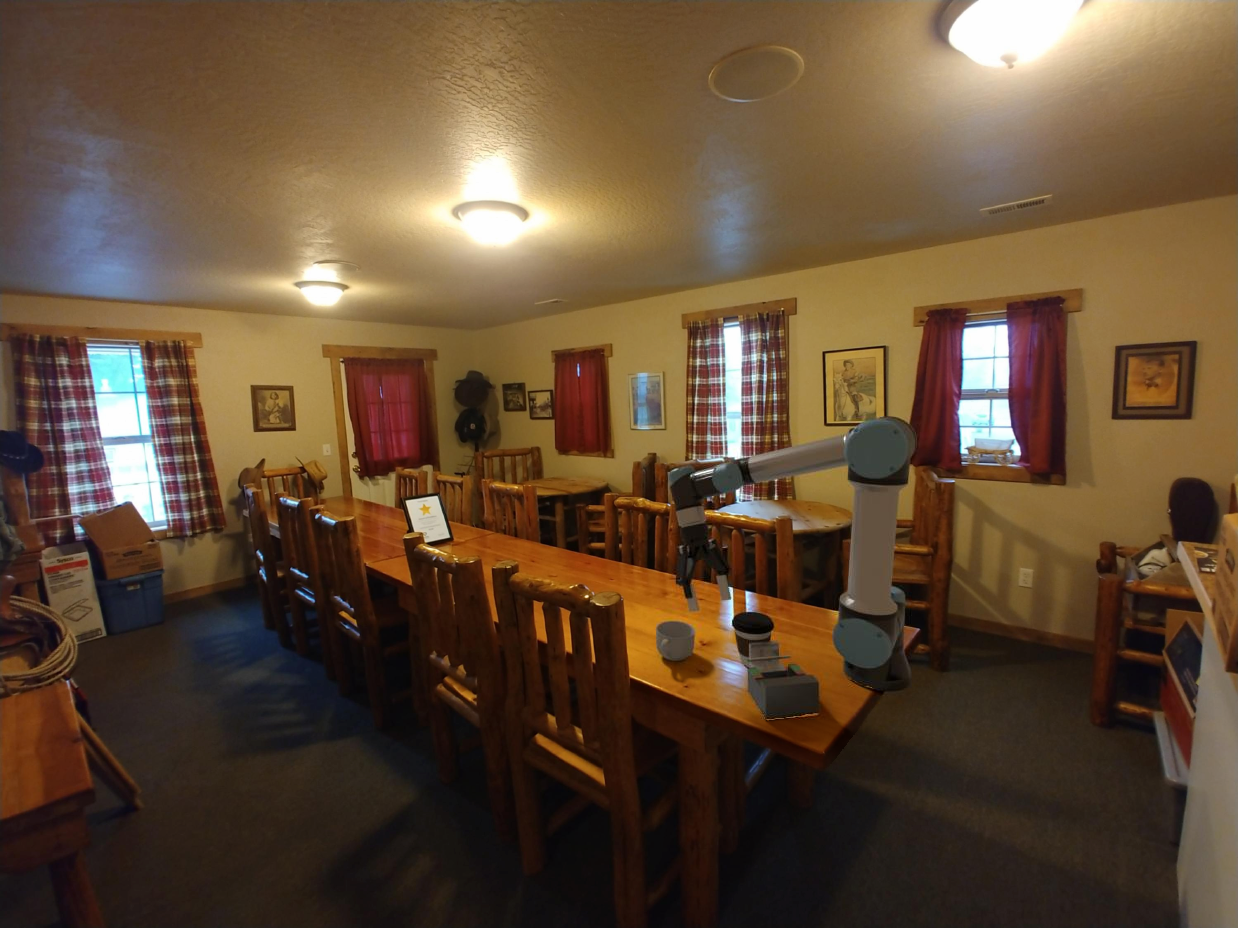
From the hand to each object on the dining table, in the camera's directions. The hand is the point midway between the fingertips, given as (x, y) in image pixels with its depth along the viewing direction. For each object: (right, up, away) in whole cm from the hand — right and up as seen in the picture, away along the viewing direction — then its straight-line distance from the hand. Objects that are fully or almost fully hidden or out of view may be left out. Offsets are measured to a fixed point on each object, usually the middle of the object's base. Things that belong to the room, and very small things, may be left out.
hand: (711, 605), depth 133 cm
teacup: (-9, -17, +7) cm, 20 cm away
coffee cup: (+12, -16, +3) cm, 20 cm away
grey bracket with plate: (+13, -16, -7) cm, 22 cm away
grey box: (+14, -18, -15) cm, 28 cm away
